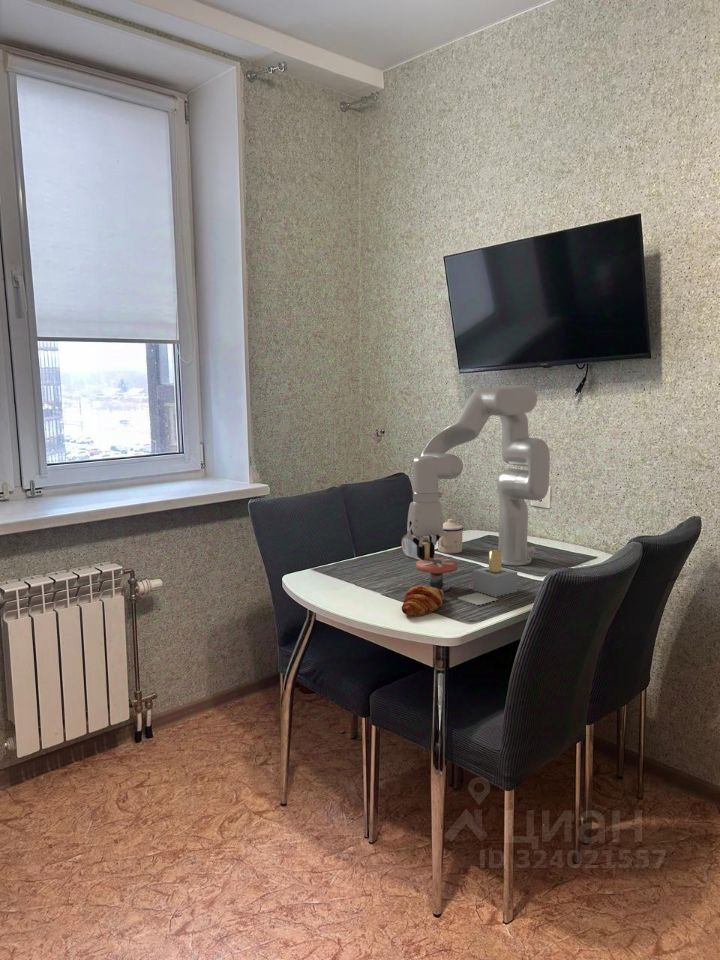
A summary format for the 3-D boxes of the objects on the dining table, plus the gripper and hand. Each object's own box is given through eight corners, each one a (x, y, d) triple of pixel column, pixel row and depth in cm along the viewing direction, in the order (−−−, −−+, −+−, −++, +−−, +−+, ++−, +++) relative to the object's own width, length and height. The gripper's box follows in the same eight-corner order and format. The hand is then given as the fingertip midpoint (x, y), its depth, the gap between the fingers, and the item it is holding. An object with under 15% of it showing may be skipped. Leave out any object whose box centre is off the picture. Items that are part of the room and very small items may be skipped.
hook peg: (494, 588, 210) (495, 549, 208) (503, 591, 207) (504, 551, 206) (485, 590, 208) (486, 550, 206) (494, 593, 205) (495, 553, 203)
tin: (434, 563, 240) (434, 538, 238) (427, 564, 238) (427, 539, 237) (406, 554, 252) (406, 530, 251) (399, 555, 250) (399, 532, 249)
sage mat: (477, 593, 205) (477, 592, 205) (498, 600, 199) (498, 599, 198) (457, 598, 200) (457, 597, 200) (478, 606, 194) (478, 604, 194)
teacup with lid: (444, 546, 262) (444, 515, 261) (466, 549, 257) (467, 518, 256) (429, 553, 252) (429, 521, 251) (452, 556, 247) (453, 524, 246)
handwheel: (412, 563, 214) (412, 542, 214) (451, 561, 216) (451, 541, 215) (421, 574, 203) (421, 552, 202) (462, 572, 204) (462, 550, 203)
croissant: (431, 608, 203) (420, 582, 204) (460, 597, 198) (448, 570, 199) (395, 629, 185) (383, 600, 186) (426, 617, 180) (414, 588, 181)
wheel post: (437, 583, 216) (437, 563, 215) (455, 589, 209) (456, 569, 209) (417, 587, 211) (417, 568, 210) (435, 594, 205) (435, 574, 204)
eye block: (493, 584, 214) (494, 565, 213) (516, 591, 207) (517, 571, 206) (472, 590, 209) (473, 570, 208) (495, 597, 201) (495, 577, 201)
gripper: (443, 493, 217) (443, 552, 219) (395, 498, 210) (396, 558, 213) (455, 497, 210) (455, 557, 213) (406, 502, 204) (407, 564, 206)
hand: (425, 557), depth 213 cm, fingers closed on handwheel, 2 cm apart
